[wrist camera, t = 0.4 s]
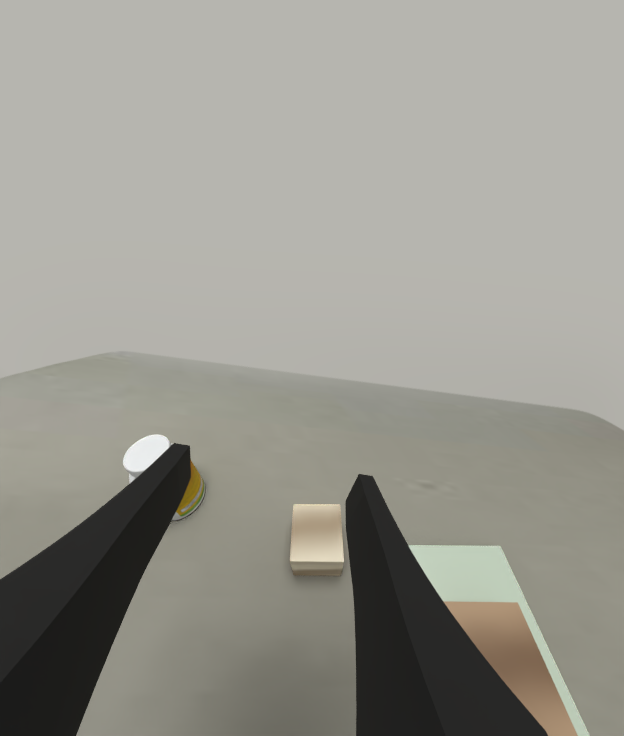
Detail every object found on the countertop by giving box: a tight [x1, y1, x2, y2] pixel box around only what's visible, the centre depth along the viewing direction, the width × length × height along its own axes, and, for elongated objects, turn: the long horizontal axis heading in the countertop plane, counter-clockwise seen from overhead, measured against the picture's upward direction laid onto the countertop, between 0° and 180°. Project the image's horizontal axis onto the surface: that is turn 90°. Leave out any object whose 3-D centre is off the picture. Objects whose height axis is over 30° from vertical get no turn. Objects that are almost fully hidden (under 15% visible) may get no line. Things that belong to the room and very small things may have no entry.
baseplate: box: [408, 545, 590, 736], centre depth 19 cm, size 16×12×1 cm
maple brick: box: [290, 504, 344, 576], centre depth 24 cm, size 4×4×5 cm
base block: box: [443, 601, 578, 736], centre depth 18 cm, size 7×7×3 cm
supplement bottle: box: [123, 435, 205, 520], centre depth 27 cm, size 5×5×10 cm
